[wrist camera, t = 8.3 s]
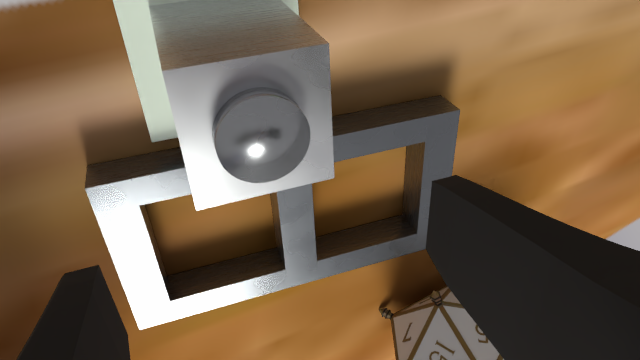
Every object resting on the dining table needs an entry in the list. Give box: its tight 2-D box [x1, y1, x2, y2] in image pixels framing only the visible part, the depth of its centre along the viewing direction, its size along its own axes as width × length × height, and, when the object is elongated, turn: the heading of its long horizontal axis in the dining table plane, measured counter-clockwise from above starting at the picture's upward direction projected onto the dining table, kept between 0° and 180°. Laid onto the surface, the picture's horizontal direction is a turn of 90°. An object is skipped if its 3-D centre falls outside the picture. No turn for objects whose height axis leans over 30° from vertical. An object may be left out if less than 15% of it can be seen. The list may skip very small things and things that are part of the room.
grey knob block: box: [149, 0, 334, 211], centre depth 15 cm, size 4×4×7 cm
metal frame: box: [85, 95, 460, 330], centre depth 22 cm, size 15×8×2 cm, turn 93°
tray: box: [113, 0, 299, 142], centre depth 18 cm, size 6×6×1 cm
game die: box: [379, 286, 504, 360], centre depth 27 cm, size 9×8×10 cm
